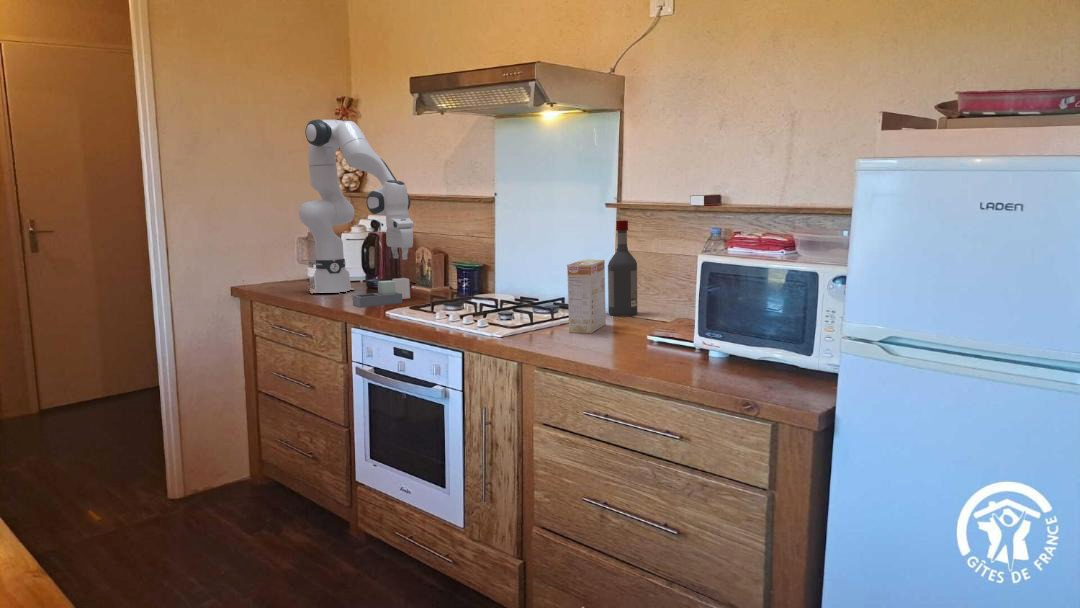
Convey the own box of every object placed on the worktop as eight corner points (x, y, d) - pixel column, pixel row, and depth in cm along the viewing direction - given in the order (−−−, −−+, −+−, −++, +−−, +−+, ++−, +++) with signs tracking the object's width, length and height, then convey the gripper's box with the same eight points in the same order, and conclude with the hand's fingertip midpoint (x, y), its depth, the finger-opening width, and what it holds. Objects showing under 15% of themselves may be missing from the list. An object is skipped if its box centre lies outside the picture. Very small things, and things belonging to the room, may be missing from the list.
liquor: (608, 316, 240) (606, 221, 236) (609, 311, 249) (608, 220, 245) (637, 316, 239) (636, 220, 235) (637, 311, 248) (636, 219, 244)
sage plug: (378, 302, 281) (377, 281, 280) (391, 301, 284) (390, 280, 283) (383, 304, 277) (382, 282, 276) (396, 303, 280) (395, 281, 278)
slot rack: (353, 306, 278) (352, 295, 278) (394, 301, 286) (394, 291, 286) (360, 308, 271) (359, 297, 270) (402, 304, 279) (402, 293, 278)
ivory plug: (393, 299, 295) (392, 278, 293) (405, 298, 297) (404, 277, 296) (397, 300, 290) (396, 279, 289) (410, 299, 293) (409, 278, 292)
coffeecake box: (584, 323, 227) (582, 259, 225) (606, 324, 225) (605, 259, 222) (567, 332, 214) (566, 264, 211) (591, 333, 211) (590, 264, 208)
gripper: (381, 223, 297) (383, 258, 299) (399, 223, 279) (401, 260, 281) (396, 222, 300) (398, 257, 302) (415, 222, 282) (417, 259, 284)
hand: (400, 259), depth 291 cm, fingers open, 8 cm apart
